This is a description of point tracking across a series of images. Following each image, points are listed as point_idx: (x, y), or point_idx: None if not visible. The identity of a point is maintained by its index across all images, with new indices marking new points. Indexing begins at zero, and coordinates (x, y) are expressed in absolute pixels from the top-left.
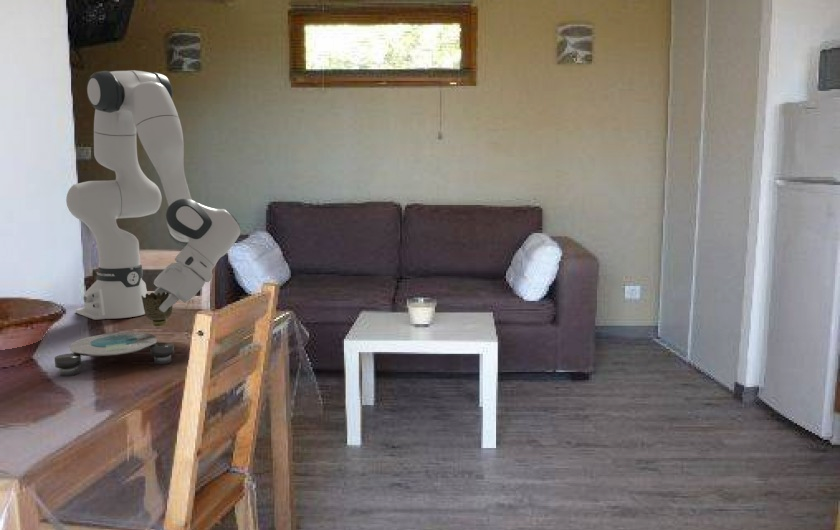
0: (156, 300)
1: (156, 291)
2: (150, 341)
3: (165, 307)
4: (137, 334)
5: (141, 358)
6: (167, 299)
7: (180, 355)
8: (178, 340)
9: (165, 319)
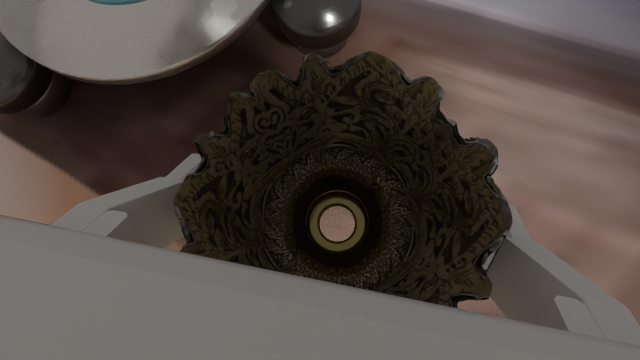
0: (216, 136)
1: (569, 299)
2: (16, 26)
3: None
4: (168, 35)
5: None
6: (107, 194)
7: (68, 170)
8: None
9: (311, 248)
